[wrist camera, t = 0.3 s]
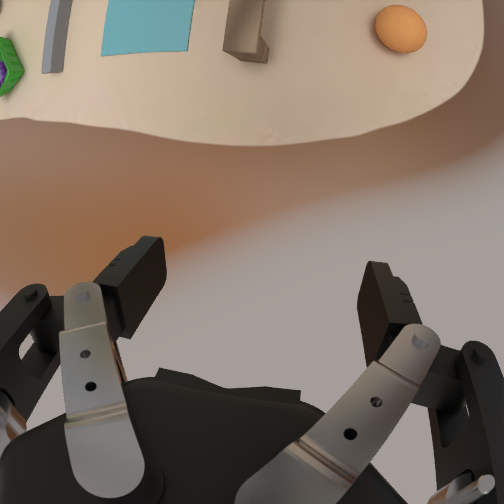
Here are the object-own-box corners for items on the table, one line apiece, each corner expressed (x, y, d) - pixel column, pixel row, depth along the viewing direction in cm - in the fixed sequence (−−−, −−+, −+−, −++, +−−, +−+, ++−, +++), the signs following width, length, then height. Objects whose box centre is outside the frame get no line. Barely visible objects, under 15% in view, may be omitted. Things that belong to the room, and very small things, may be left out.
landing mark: (114, -23, 27) (113, -24, 26) (200, -35, 26) (200, -36, 26) (101, 56, 33) (101, 56, 33) (187, 51, 32) (186, 50, 32)
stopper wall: (67, -17, 27) (55, -20, 24) (76, -20, 26) (64, -24, 24) (54, 72, 34) (41, 73, 32) (63, 71, 34) (50, 72, 32)
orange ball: (372, 5, 26) (384, -8, 21) (418, 20, 26) (436, 10, 20) (367, 47, 29) (379, 39, 24) (413, 61, 29) (432, 57, 23)
